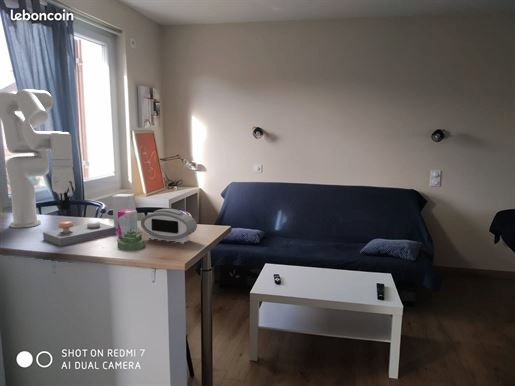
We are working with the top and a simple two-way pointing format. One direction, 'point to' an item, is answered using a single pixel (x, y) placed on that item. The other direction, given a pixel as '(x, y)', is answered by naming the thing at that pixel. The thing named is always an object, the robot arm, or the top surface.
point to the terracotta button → (66, 226)
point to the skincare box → (122, 205)
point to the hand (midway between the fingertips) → (65, 209)
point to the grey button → (93, 224)
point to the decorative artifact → (131, 241)
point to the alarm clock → (169, 225)
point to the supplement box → (127, 221)
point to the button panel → (78, 234)
